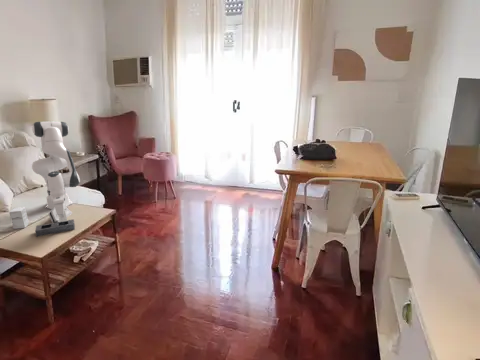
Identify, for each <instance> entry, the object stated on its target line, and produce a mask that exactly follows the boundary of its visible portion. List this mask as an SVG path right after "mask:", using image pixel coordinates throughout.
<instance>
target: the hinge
mask: <svg viewBox="0 0 480 360" xmlns="http://www.w3.org/2000/svg"><path fill="white" fill-rule="evenodd" d="M64 209H65V211H66V216H67V218H69V217H70V216H71V215H73V212H72V210H70V209H69V208H68V206H66V205H65V206H64ZM48 216H49V219H50V220H51V223H56V222H60V221H59V216H58V215H57V212H56V209H55V207H54V208H53V209H50V210H49V212H48Z"/></svg>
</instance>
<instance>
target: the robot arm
mask: <svg viewBox="0 0 480 360" xmlns="http://www.w3.org/2000/svg"><path fill="white" fill-rule="evenodd" d="M31 128H32V129H31V130H32V133H33V134H34V136H35V137H38V138H40V140H41V141H40V142H41V151H42V153H44V154H45V155H49V156H48V157H45V158H39V159H38V160H35V161H33V162H32V164H31V169H32V171H33V172H34V173H35V174H37V175H39V176H40V177H42V178H43V179H44V181H45V183H46V189H47V190H46V192H47V196H46V203H47V204H48V206H47V204H46V206H47V208H46V209H50V210H52V209H53V208H54V207H55V209H56V212H57V215H60V216H61V219H63V218H64V215H63V214H64V206H65V205H66V206H67V207H68V206H70V205H73V201H72V200H71V199H70V197H69V194H68V192H67V193H66V189H67V188H76V187H78V186H79V184H80V182H81V178H80V175H79V174H78V171H77V168H76V166H75V162H74V159H73V156H72V154H71V151H70V150H69V149H68V148H66V147H65V145H64V139H63V137H67V136H68V135H69V132H70V128H69V125H68V124H67V122H65V121H53V120H52V121H51V120H50V121H48V120H47V121H35V122H34V123H33V125H32V127H31ZM66 168H68V170H69V172H63V173H61V172H60V170H63V169H66Z"/></svg>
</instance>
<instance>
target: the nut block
mask: <svg viewBox="0 0 480 360" xmlns="http://www.w3.org/2000/svg"><path fill="white" fill-rule="evenodd" d="M63 215H64V218H63V219H61V216H60V215H58V216H59V221H60V222H63V221H67V220H68V217H67V216H66V211H65V209H64V214H63Z"/></svg>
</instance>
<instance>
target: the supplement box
mask: <svg viewBox="0 0 480 360" xmlns="http://www.w3.org/2000/svg"><path fill="white" fill-rule="evenodd" d="M9 217H10V220H11V224H12V229H13V230H16V229H25V228H26V227H28V225H29V224H30V222H29V217H28V214H27V209H26V206H23V207H22V206H21V207H13V208H12V209H11V210H9Z"/></svg>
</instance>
